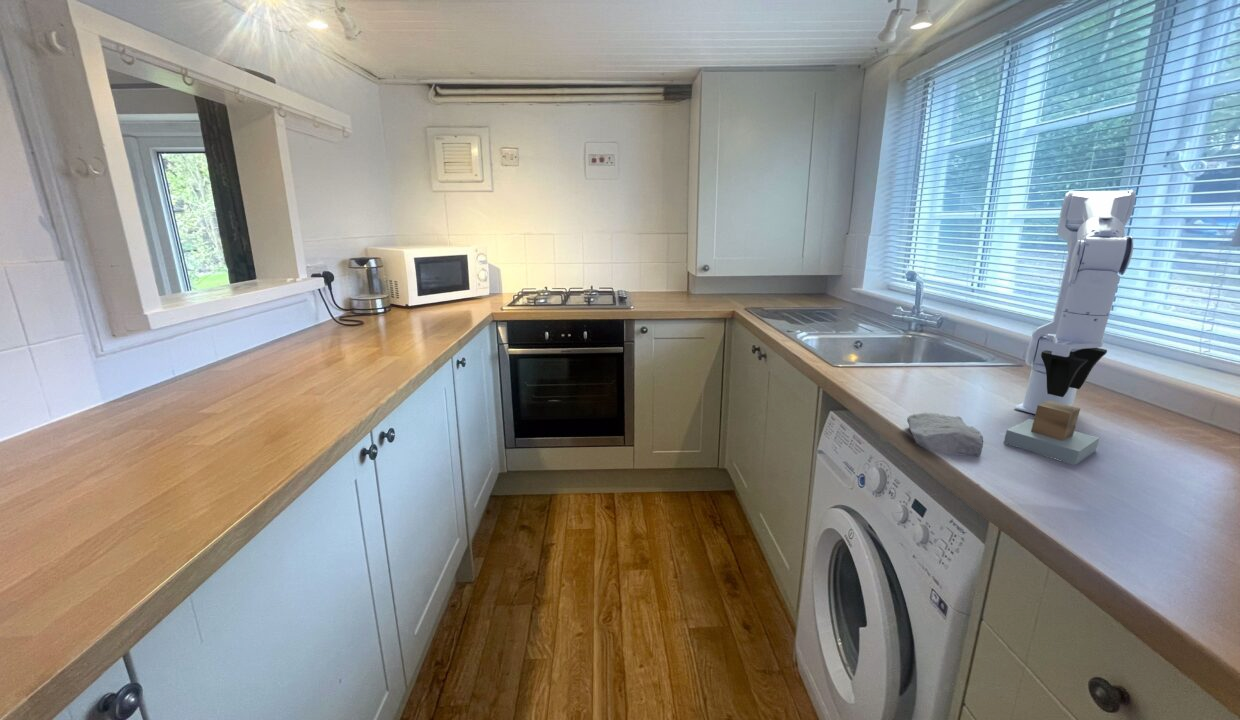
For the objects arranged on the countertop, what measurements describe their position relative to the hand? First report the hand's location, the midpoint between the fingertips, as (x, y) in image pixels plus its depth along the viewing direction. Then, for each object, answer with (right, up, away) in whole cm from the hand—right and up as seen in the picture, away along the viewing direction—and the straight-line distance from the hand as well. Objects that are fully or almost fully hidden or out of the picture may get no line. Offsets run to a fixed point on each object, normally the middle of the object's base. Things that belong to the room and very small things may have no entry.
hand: (1063, 391), depth 85 cm
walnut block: (0, -8, +2) cm, 8 cm away
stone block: (-18, -10, +5) cm, 21 cm away
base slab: (0, -10, +3) cm, 11 cm away
